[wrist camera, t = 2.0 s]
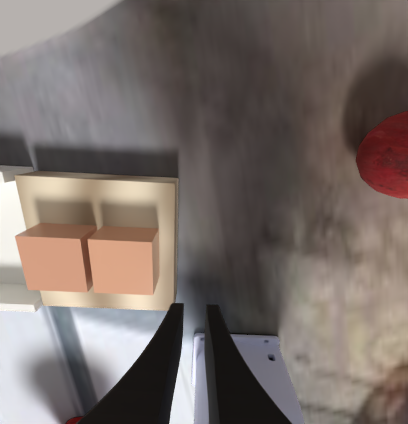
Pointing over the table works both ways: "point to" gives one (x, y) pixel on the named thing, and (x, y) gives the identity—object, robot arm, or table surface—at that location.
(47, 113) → the table surface
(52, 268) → the tile
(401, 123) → the onion
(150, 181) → the board
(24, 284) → the tray
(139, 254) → the tile
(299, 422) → the robot arm
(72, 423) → the plastic cup
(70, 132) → the table surface
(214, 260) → the table surface
